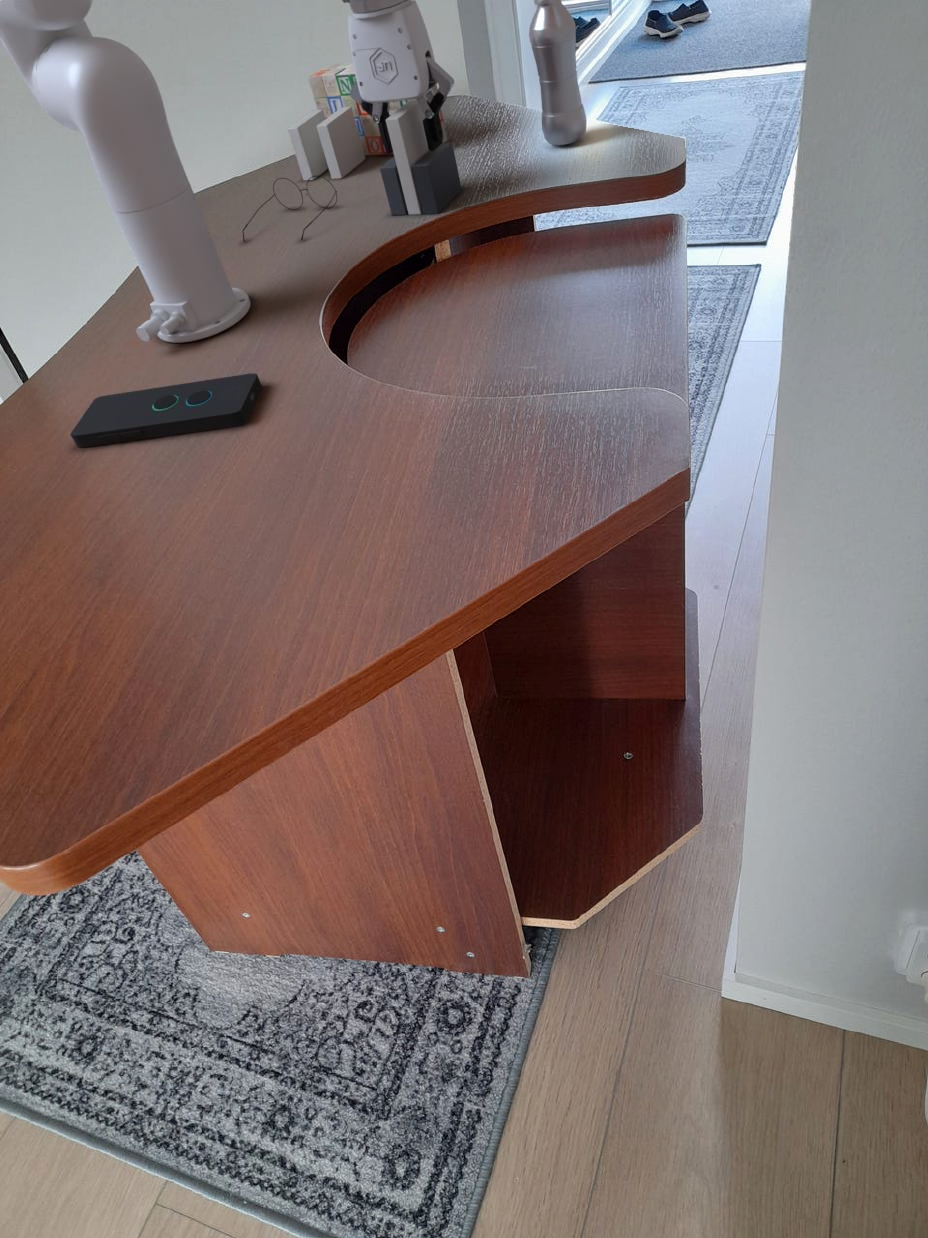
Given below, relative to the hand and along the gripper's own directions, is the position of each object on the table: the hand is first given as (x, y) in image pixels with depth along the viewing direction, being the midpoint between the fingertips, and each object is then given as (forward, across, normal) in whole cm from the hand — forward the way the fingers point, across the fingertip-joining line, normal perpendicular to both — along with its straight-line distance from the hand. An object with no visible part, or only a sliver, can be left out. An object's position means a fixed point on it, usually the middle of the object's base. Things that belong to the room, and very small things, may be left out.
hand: (414, 147), depth 124 cm
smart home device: (+8, -5, -55) cm, 56 cm away
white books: (+7, -25, +15) cm, 30 cm away
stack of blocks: (+8, -19, +23) cm, 31 cm away
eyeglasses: (+8, -20, -6) cm, 22 cm away
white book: (+7, 0, 0) cm, 7 cm away
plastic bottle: (+8, +14, +20) cm, 26 cm away
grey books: (+7, 0, 0) cm, 7 cm away
